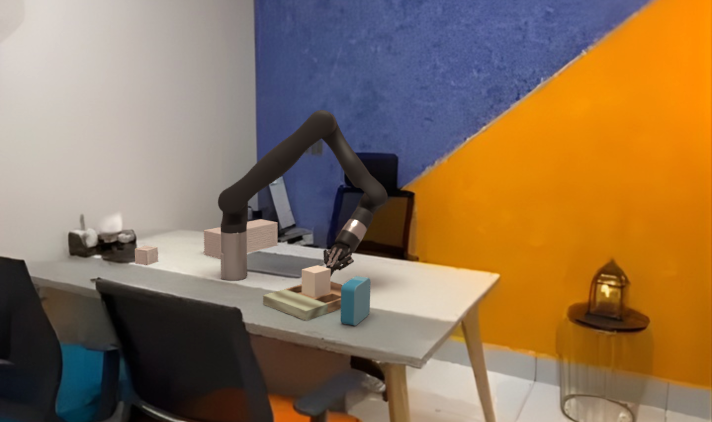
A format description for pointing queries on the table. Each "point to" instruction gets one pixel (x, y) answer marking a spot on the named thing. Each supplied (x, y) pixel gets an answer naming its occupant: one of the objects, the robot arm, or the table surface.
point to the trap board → (304, 301)
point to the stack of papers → (257, 237)
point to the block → (316, 281)
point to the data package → (355, 300)
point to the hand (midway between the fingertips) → (324, 277)
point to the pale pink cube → (146, 255)
